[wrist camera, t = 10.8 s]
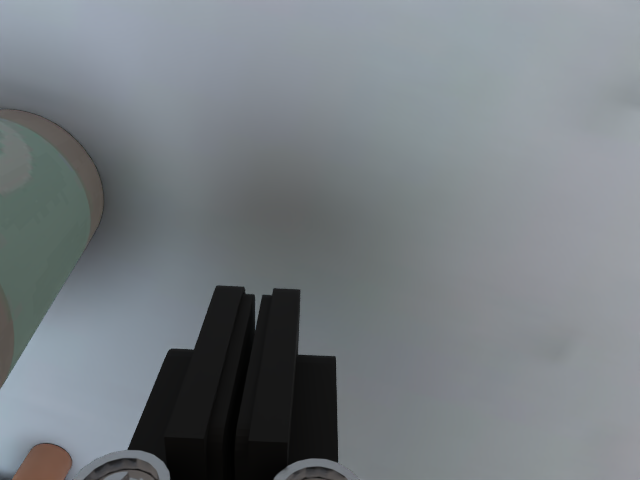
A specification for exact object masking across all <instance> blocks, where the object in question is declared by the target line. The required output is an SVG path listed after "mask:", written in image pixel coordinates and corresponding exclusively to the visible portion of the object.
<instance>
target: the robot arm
mask: <svg viewBox="0 0 640 480" xmlns="http://www.w3.org/2000/svg"><path fill="white" fill-rule="evenodd" d="M299 317H300V290H299V289H278V288H274V289H273V294H272V295H262V299H261V305H260V310H259V315H258V320H257V325H256V330H255V295H254V294H245V288H244V287H238V286H218V285H217V286H216V288H215V290H214V293H213V296H212V299H211V302H210V305H209V308H208V311H207V314H206V316H205V319H204V322H203V325H202V328H201V331H200V334H199V337H198V340H197V343H196V345H195V348H194V350H190V349H170V350H169V351H168V353H167V355H166V357H165V359H164V362H163V364H162V367H161V369H160V372H159V374H158V377H157V379H156V381H155V384H154V386H153V389H152V391H151V394H150V396H149V398H148V401H147V403H146V406H145V408H144V411H143V413H142V416H141V418H140V420H139V423H138V425H137V428H136V430H135V433H134V435H133V438H132V440H131V442H130V445H129V447H128V450H124V451H118V452H113V453H109V454H107V455H105V456H102V457H100V458H98V459H95V460H94V461H93V462H91V463H90V464H88V465H87V466H85V467H84V468H82V469H81V471H80V472H79V473H78V474H77V475H76V476H75V477H74V478H73V479H72V480H360V479H359V478H358V477H357V476H356V475H355V474H354V473H353V472H352V471H351V470H349V469H348V468H346V467H345V466H343V465H342V464H340V463H338V432H337V387H336V357H335V356H314V355H298V341H299Z"/></svg>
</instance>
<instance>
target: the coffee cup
mask: <svg viewBox="0 0 640 480" xmlns="http://www.w3.org/2000/svg"><path fill="white" fill-rule="evenodd" d="M103 203H104V199H103V189H102V184H101V180H100V177H99V174H98V172H97V170H96V167H95V165H94V163H93V162H92V160H91V158H90V157H89V155H88V154H87V152H86V151H85V150H84V149H83V147H82V146H81V145H80V144H79V143H78V142H77V141H76V140H75V139H74V138H73V137H72V136H71V135H70V134H69V133H67V132H66V131H65V130H64V129H62V128H61V127H59V126H58V125H56V124H55V123H53V122H51V121H49V120H47V119H45V118H43V117H40V116H38V115H35V114H32V113H28V112H24V111H19V110H9V109H2V110H0V389H1V387H2V385H3V384H4V382H5V381H6V379H7V377H8V376H9V374H10V372H11V371H12V369H13V367H14V366H15V364H16V362H17V361H18V359H19V357H20V356H21V354H22V352H23V351H24V349H25V348H26V346H27V344H28V343H29V341H30V339H31V338H32V336H33V334H34V333H35V331H36V329H37V328H38V326H39V324H40V323H41V321H42V319H43V318H44V316H45V314H46V313H47V311H48V309H49V308H50V306H51V305H52V303H53V301H54V300H55V298H56V296H57V295H58V293H59V291H60V290H61V288H62V286H63V285H64V283H65V281H66V280H67V278H68V276H69V275H70V273H71V271H72V270H73V268H74V267H75V265H76V263H77V262H78V260H79V258H80V257H81V255H82V253H83V251H84V250H85V248H86V246H87V245H88V243H89V241H90V240H91V238H92V236H93V234H94V233H95V231H96V229H97V227H98V225H99V223H100V220H101V217H102V213H103Z"/></svg>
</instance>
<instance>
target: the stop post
mask: <svg viewBox="0 0 640 480" xmlns="http://www.w3.org/2000/svg"><path fill="white" fill-rule="evenodd" d="M71 465H72V460H71V458H70V456H69V454H68V453H67V452H66V451H65V450H64V449H62V448H60V447H58V446H56V445H52V444H39V445H36V446H34V447H33V448H32V449H31V450H30V452H29V453H28V455H27V456H26V458H25V460H24V461H23V463H22V464H21V466H20V467H19V469H18V471H17V472H16V474H15V475H14V477H13V478H12V480H64V479H65V477H66V475H67V474H68V472H69V470H70V468H71Z"/></svg>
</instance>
